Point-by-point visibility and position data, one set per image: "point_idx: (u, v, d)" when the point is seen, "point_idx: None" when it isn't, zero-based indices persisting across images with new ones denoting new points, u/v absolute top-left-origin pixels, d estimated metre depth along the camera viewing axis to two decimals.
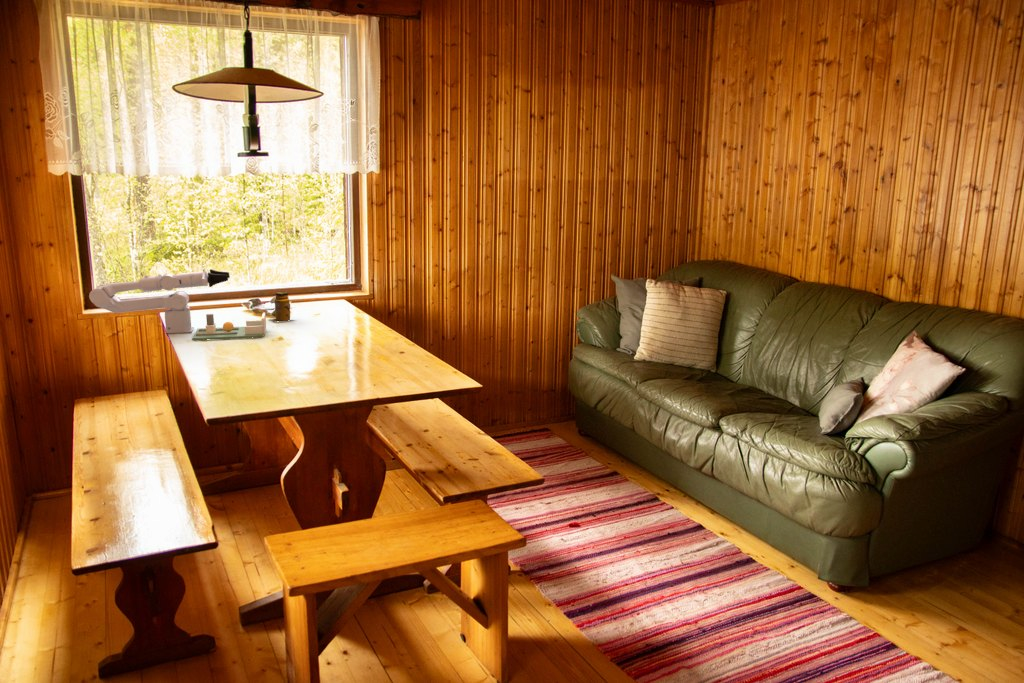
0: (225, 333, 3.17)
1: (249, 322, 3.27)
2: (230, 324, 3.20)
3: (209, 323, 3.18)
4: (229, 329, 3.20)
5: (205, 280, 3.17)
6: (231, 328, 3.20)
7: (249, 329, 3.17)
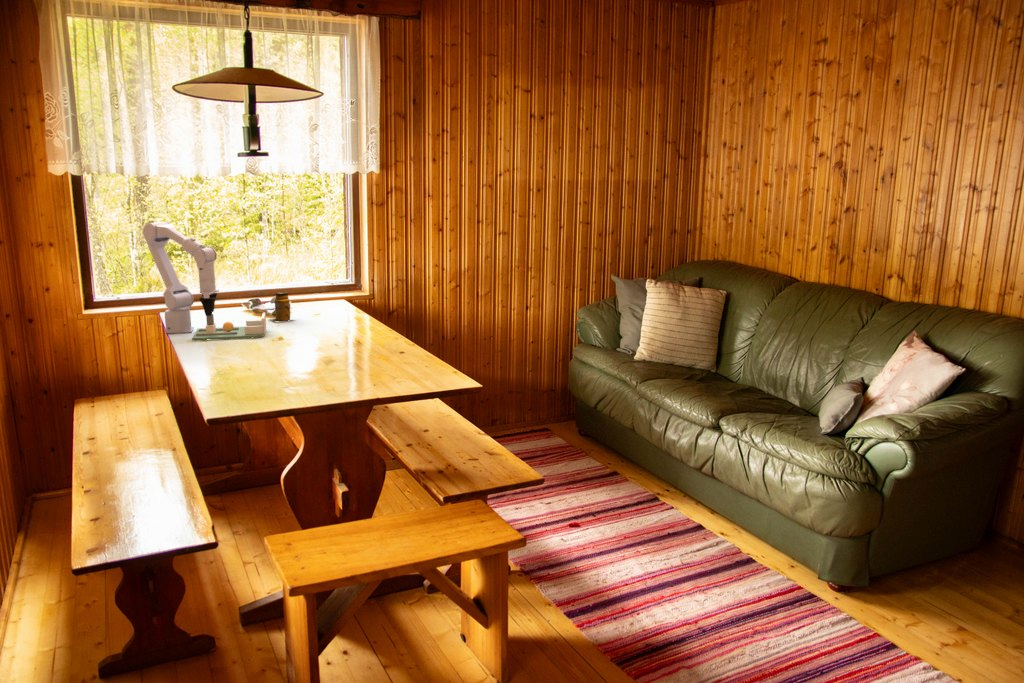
0: (225, 333, 3.17)
1: (249, 322, 3.27)
2: (230, 324, 3.20)
3: (209, 323, 3.18)
4: (229, 329, 3.20)
5: (206, 296, 3.09)
6: (231, 328, 3.20)
7: (249, 329, 3.17)
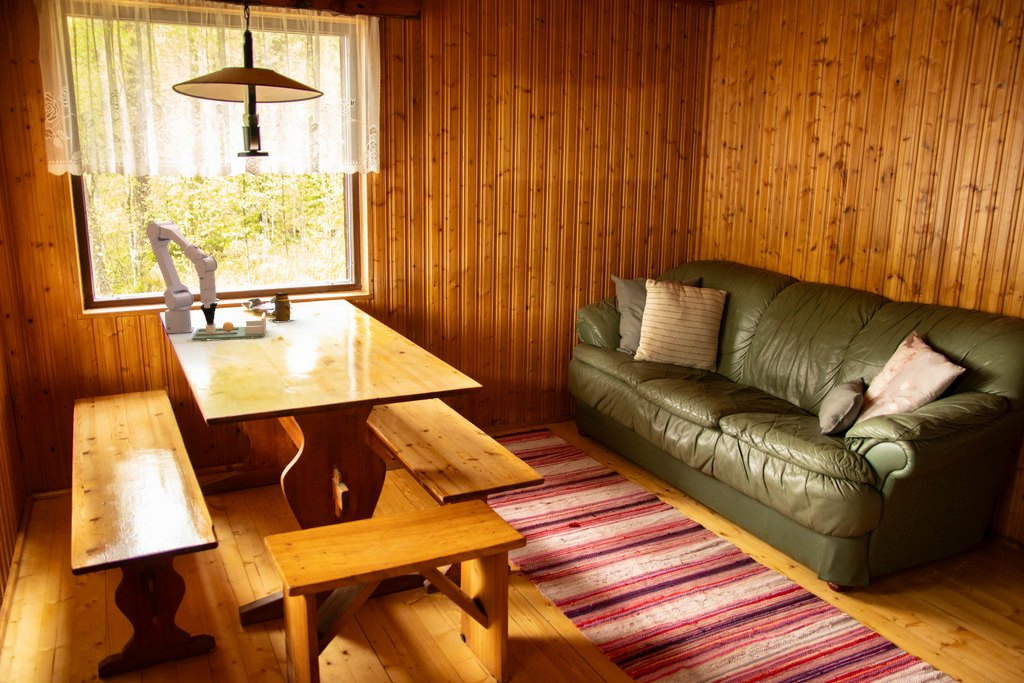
0: (225, 333, 3.17)
1: (249, 322, 3.27)
2: (230, 324, 3.20)
3: None
4: (229, 329, 3.20)
5: (207, 306, 3.10)
6: (231, 328, 3.20)
7: (249, 329, 3.17)
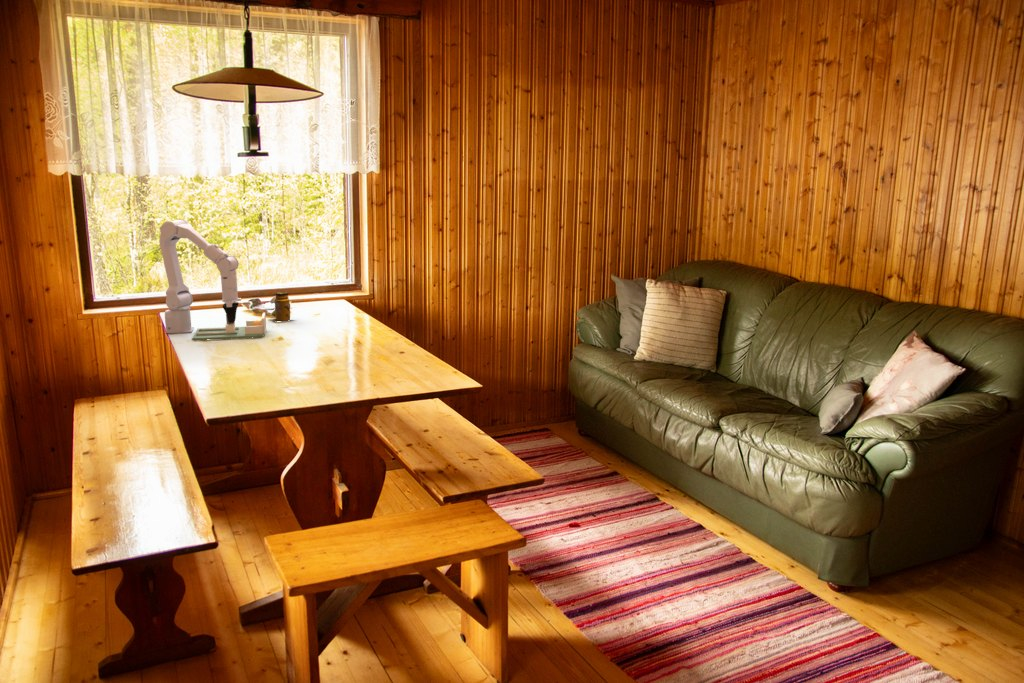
0: (225, 333, 3.17)
1: (249, 322, 3.27)
2: (256, 322, 3.22)
3: None
4: None
5: (229, 305, 3.12)
6: (260, 324, 3.22)
7: (249, 329, 3.17)
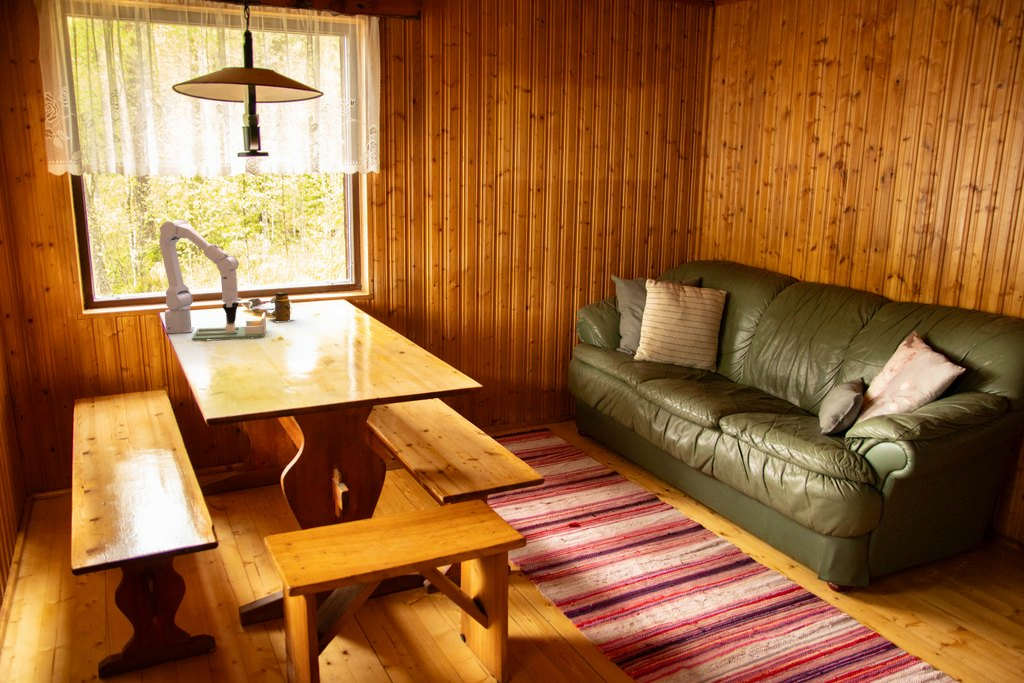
0: (225, 333, 3.17)
1: (249, 322, 3.27)
2: (254, 322, 3.22)
3: None
4: None
5: (229, 305, 3.12)
6: (258, 323, 3.22)
7: (249, 329, 3.17)
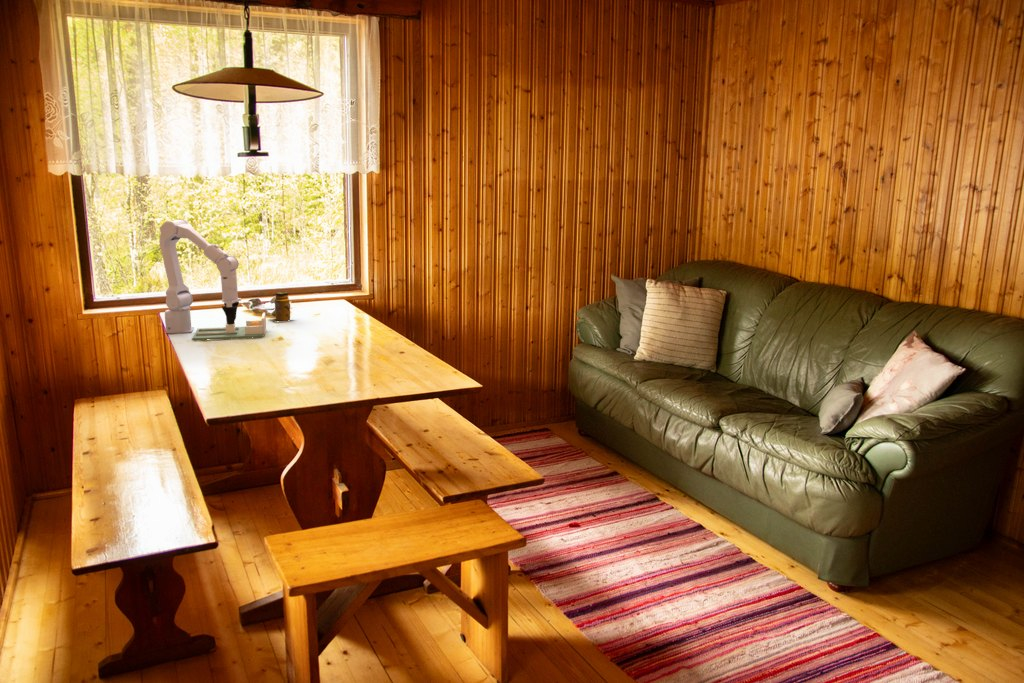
0: (225, 333, 3.17)
1: (249, 322, 3.27)
2: (253, 323, 3.22)
3: None
4: (257, 325, 3.22)
5: (229, 305, 3.12)
6: (257, 323, 3.22)
7: (249, 329, 3.17)
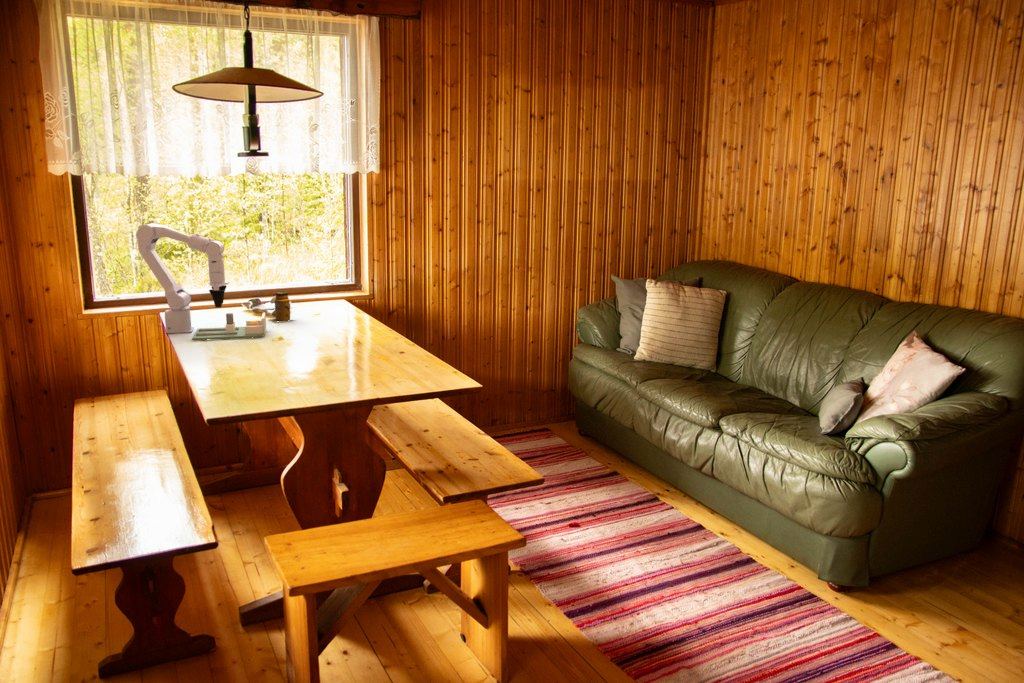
0: (225, 333, 3.17)
1: (249, 322, 3.27)
2: (251, 323, 3.22)
3: (229, 322, 3.19)
4: (255, 325, 3.22)
5: (216, 288, 3.16)
6: (255, 323, 3.22)
7: (249, 329, 3.17)
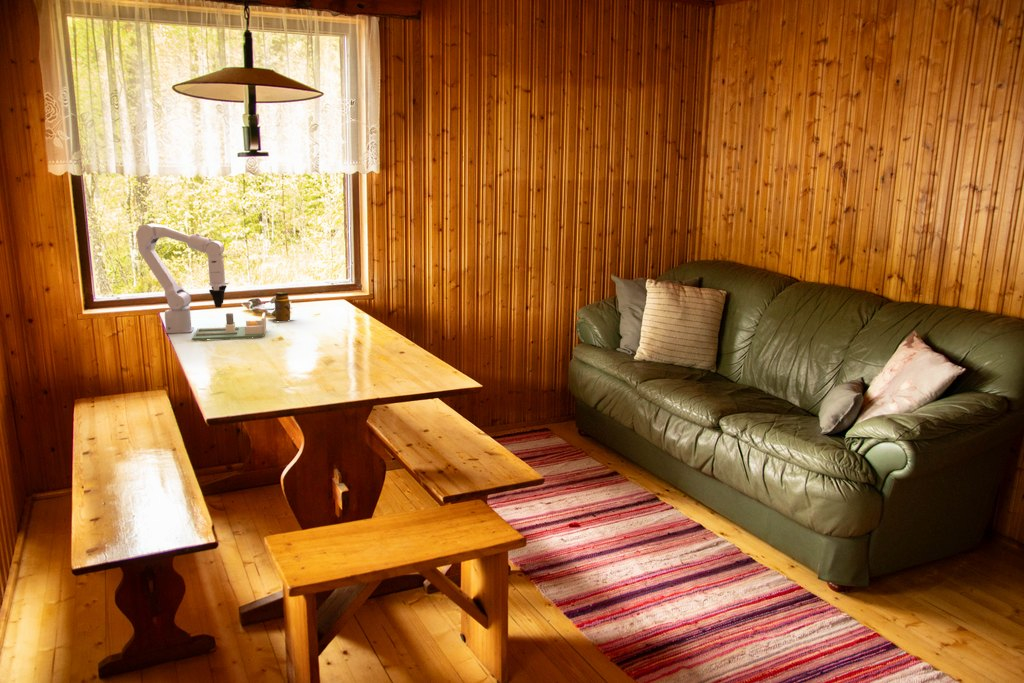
0: (225, 333, 3.17)
1: None
2: (249, 324, 3.22)
3: (229, 322, 3.19)
4: (254, 325, 3.22)
5: (216, 288, 3.16)
6: (252, 323, 3.22)
7: (249, 329, 3.17)
